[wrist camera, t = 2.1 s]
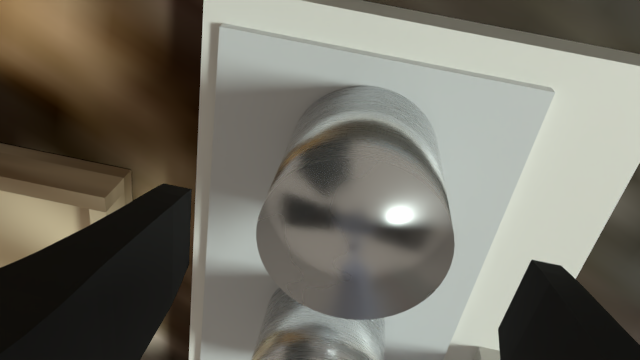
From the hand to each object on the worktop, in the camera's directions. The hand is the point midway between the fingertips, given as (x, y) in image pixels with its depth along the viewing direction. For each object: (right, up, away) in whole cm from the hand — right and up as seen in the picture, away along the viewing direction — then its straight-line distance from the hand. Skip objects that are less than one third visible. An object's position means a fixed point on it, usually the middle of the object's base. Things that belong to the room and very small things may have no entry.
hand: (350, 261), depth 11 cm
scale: (+1, -3, +10) cm, 10 cm away
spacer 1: (+1, +2, +4) cm, 5 cm away
